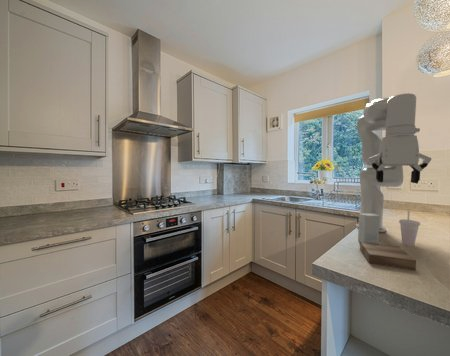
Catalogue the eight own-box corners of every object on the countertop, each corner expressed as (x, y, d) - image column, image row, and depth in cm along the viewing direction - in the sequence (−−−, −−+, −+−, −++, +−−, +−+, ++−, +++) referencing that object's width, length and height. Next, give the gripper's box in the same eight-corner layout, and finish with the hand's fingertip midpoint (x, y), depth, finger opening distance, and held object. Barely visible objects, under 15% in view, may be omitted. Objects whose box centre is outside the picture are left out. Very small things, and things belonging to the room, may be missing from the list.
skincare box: (371, 240, 88) (372, 213, 87) (379, 244, 83) (380, 215, 83) (357, 240, 88) (358, 212, 87) (364, 244, 83) (365, 215, 83)
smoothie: (408, 241, 87) (410, 209, 86) (423, 247, 81) (425, 212, 80) (393, 241, 87) (395, 209, 86) (407, 247, 81) (409, 212, 80)
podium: (359, 249, 78) (360, 241, 78) (398, 254, 74) (399, 246, 74) (369, 263, 67) (369, 254, 67) (415, 270, 63) (416, 260, 62)
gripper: (425, 132, 70) (422, 182, 71) (366, 135, 76) (364, 181, 77) (439, 129, 63) (435, 184, 64) (373, 132, 69) (370, 182, 70)
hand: (396, 182), depth 71 cm, fingers open, 9 cm apart
